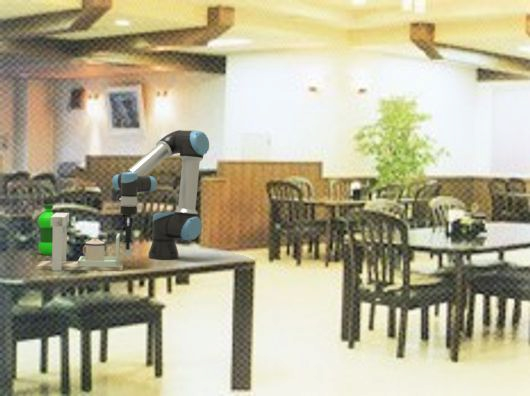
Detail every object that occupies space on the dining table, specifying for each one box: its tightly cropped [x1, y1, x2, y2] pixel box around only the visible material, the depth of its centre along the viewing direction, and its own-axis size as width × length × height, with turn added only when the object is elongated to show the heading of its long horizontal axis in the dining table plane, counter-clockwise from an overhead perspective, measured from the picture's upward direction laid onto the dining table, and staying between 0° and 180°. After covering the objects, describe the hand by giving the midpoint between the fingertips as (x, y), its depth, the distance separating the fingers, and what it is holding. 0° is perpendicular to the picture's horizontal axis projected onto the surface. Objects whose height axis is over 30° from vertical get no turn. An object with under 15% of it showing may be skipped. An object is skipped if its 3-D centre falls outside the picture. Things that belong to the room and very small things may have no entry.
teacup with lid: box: [82, 236, 106, 261], centre depth 435 cm, size 12×9×12 cm
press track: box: [36, 260, 125, 272], centre depth 434 cm, size 38×17×2 cm, turn 97°
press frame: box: [51, 212, 70, 272], centre depth 432 cm, size 6×24×24 cm, turn 7°
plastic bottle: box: [37, 204, 55, 256], centre depth 475 cm, size 10×10×25 cm
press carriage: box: [77, 232, 121, 267], centre depth 435 cm, size 18×17×14 cm
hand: (127, 256), depth 436 cm, fingers closed
